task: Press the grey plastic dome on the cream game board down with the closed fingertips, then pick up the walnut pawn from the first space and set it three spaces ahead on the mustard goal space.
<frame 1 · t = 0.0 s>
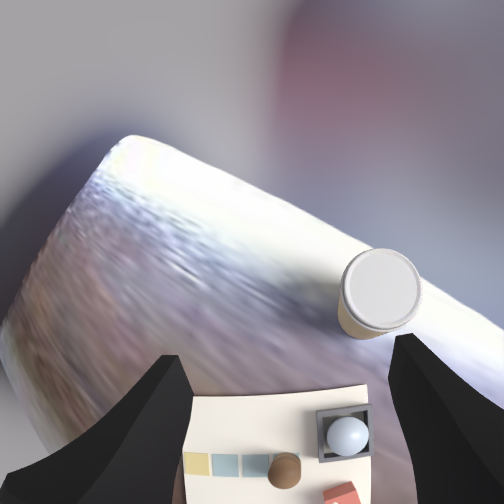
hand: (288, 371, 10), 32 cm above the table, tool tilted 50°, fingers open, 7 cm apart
die: (341, 497, 30), point 1 cm above the table, touching board
board: (275, 460, 34), on the table
coffee cup: (363, 313, 41), on the table
dome: (346, 435, 31), point 4 cm above the table, slide at 0.0 cm
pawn: (286, 465, 33), point 1 cm above the table, touching board
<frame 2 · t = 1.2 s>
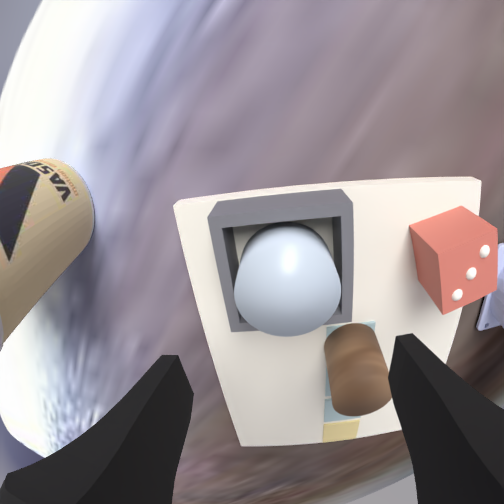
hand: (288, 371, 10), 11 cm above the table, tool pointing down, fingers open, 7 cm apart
die: (440, 243, 17), point 1 cm above the table, touching board
board: (339, 347, 22), on the table
coffee cup: (55, 208, 19), on the table
dome: (287, 278, 15), point 4 cm above the table, slide at 0.0 cm
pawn: (350, 344, 20), point 1 cm above the table, touching board
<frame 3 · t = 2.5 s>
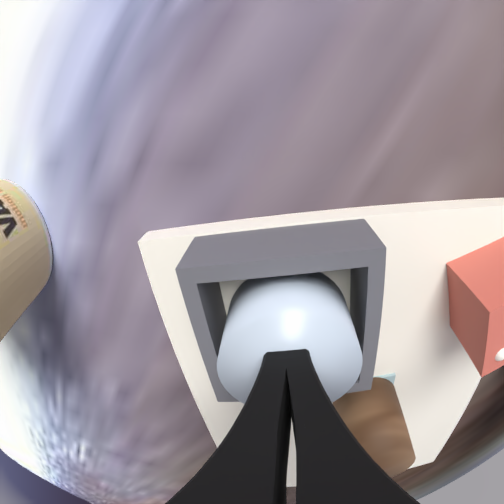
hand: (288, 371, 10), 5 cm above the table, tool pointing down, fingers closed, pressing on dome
die: (479, 282, 13), point 1 cm above the table, touching board
board: (350, 397, 18), on the table
coffee cup: (12, 237, 15), on the table
dome: (289, 343, 11), point 4 cm above the table, slide at 0.4 cm, touching gripper
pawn: (364, 398, 16), point 1 cm above the table, touching board
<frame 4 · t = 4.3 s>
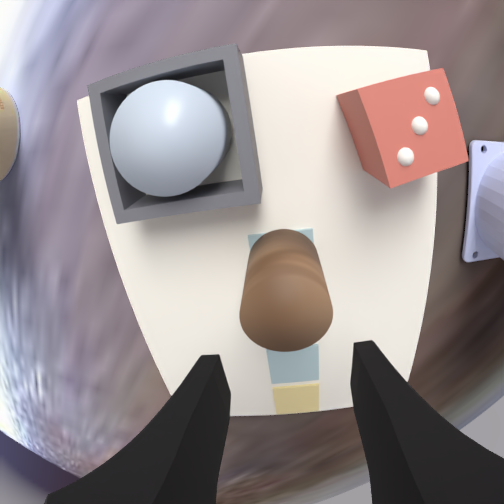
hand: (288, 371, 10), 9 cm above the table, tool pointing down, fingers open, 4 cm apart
die: (385, 121, 14), point 1 cm above the table, touching board
board: (277, 274, 19), on the table
dome: (173, 135, 13), point 3 cm above the table, slide at 1.2 cm
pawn: (283, 261, 17), point 1 cm above the table, touching board
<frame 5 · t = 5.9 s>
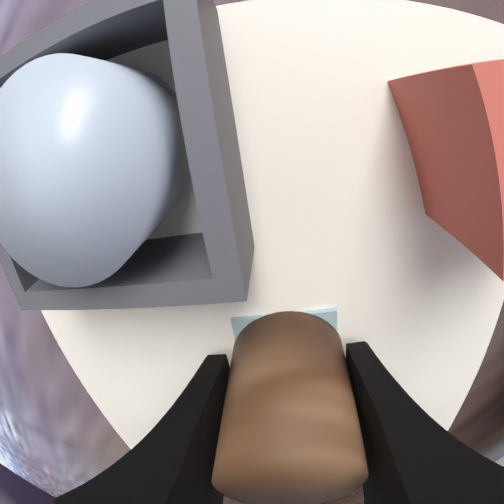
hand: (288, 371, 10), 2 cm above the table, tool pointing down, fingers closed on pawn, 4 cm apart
die: (463, 133, 7), point 1 cm above the table, touching board
board: (277, 358, 12), on the table
dome: (82, 162, 6), point 3 cm above the table, slide at 1.2 cm
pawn: (287, 355, 10), point 1 cm above the table, touching board, gripper
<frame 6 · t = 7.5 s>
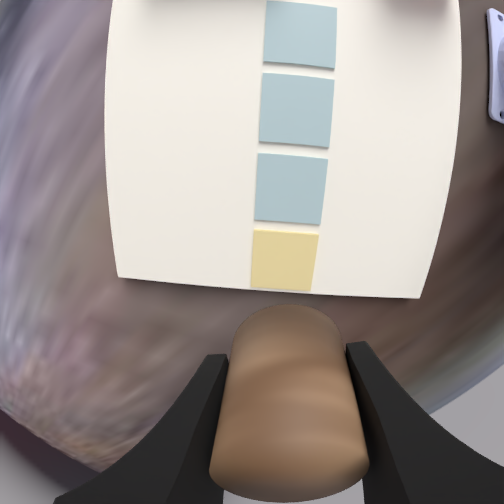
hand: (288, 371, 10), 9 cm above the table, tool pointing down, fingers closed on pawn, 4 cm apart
board: (287, 63, 14), on the table
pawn: (287, 349, 10), point 8 cm above the table, touching gripper
when the fingers open (3 cm above the table, at t = 9.0 s): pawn stays where it is, resting on board.
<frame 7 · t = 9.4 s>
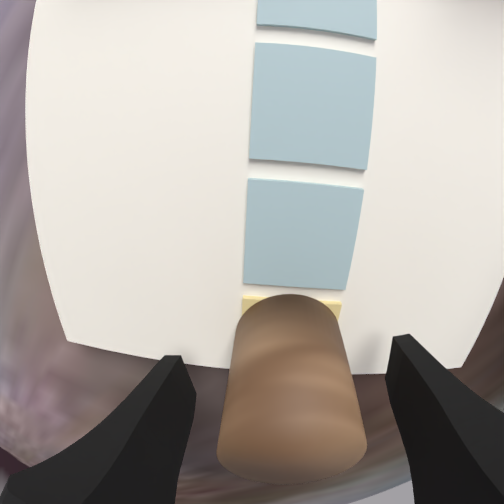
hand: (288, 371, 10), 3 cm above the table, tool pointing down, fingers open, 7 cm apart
board: (296, 32, 8), on the table
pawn: (287, 337, 11), point 1 cm above the table, touching board
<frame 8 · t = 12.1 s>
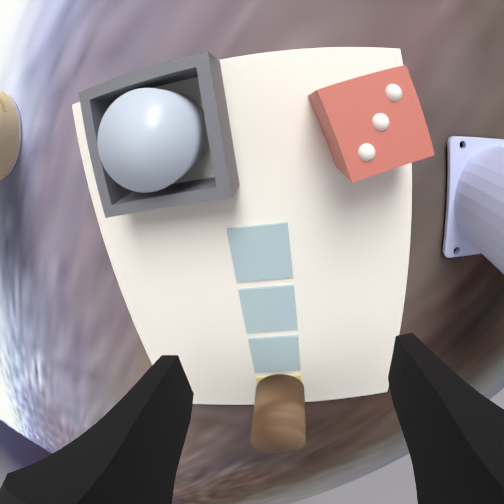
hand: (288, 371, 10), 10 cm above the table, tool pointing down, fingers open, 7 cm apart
die: (357, 119, 14), point 1 cm above the table, touching board
board: (257, 266, 20), on the table
dome: (154, 137, 14), point 3 cm above the table, slide at 1.2 cm
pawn: (280, 389, 23), point 1 cm above the table, touching board
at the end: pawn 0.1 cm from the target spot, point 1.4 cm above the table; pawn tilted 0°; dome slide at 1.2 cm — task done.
